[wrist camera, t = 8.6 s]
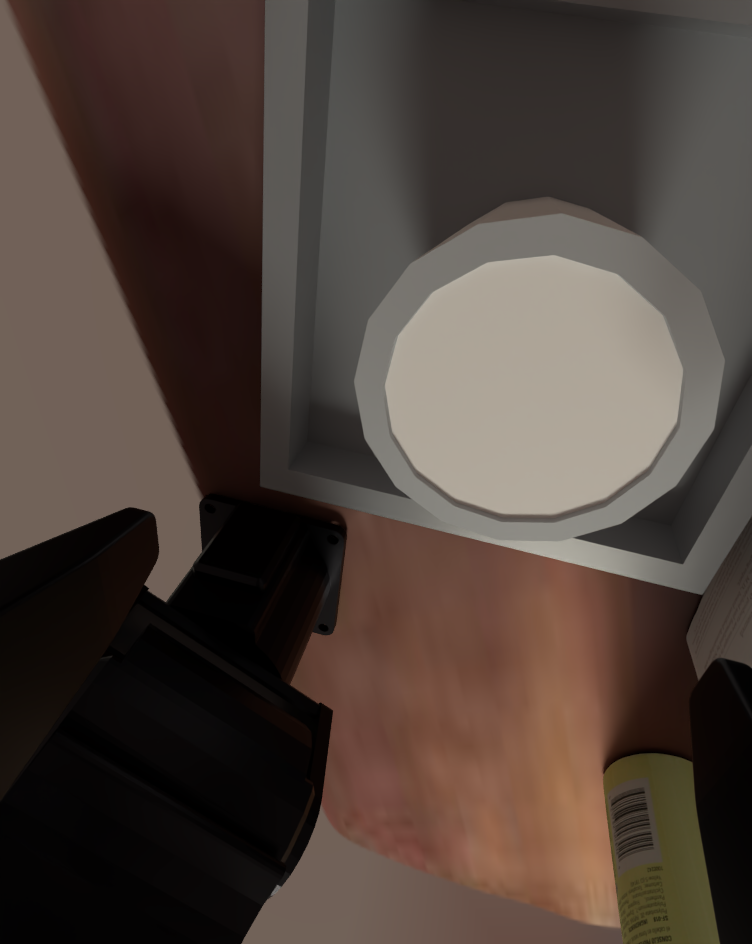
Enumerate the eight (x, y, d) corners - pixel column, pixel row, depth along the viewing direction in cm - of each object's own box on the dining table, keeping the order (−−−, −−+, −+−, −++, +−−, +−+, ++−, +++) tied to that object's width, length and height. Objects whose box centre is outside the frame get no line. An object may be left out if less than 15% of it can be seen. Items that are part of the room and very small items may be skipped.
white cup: (381, 221, 17) (299, 286, 11) (640, 126, 14) (710, 146, 8) (449, 428, 20) (412, 563, 14) (672, 380, 17) (739, 522, 11)
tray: (683, 537, 21) (702, 595, 18) (289, 444, 23) (259, 486, 20) (973, 12, 13) (1079, -8, 10) (312, -66, 14) (266, -100, 12)
